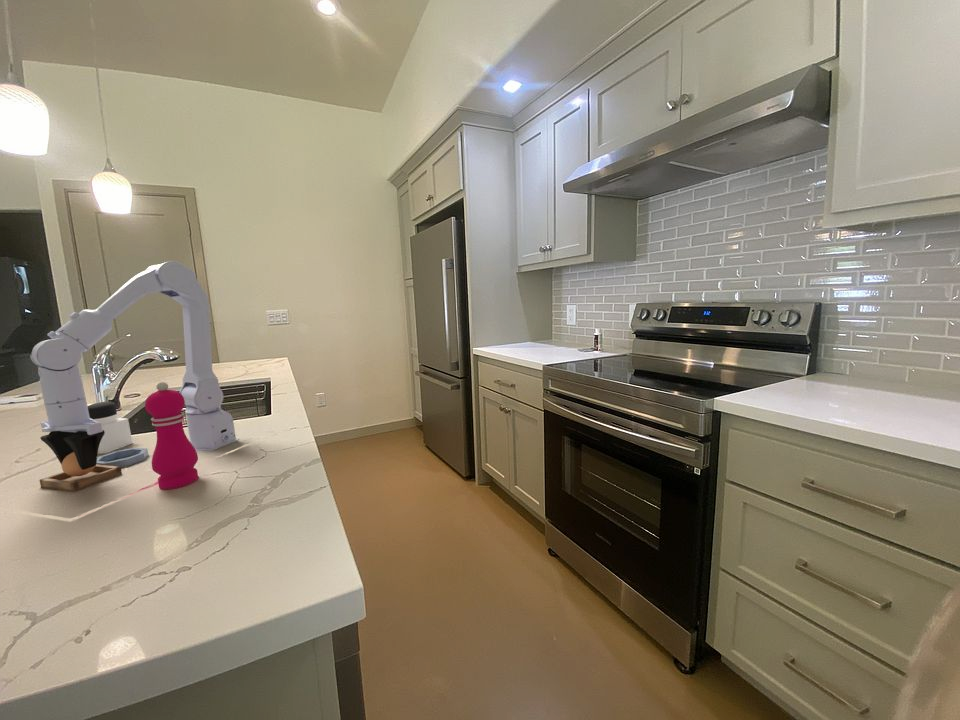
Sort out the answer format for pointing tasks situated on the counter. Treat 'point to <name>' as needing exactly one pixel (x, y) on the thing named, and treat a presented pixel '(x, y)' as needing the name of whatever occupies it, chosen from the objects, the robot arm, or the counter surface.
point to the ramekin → (123, 457)
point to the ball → (74, 466)
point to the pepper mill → (171, 439)
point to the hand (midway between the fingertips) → (79, 466)
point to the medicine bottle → (110, 426)
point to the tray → (80, 478)
